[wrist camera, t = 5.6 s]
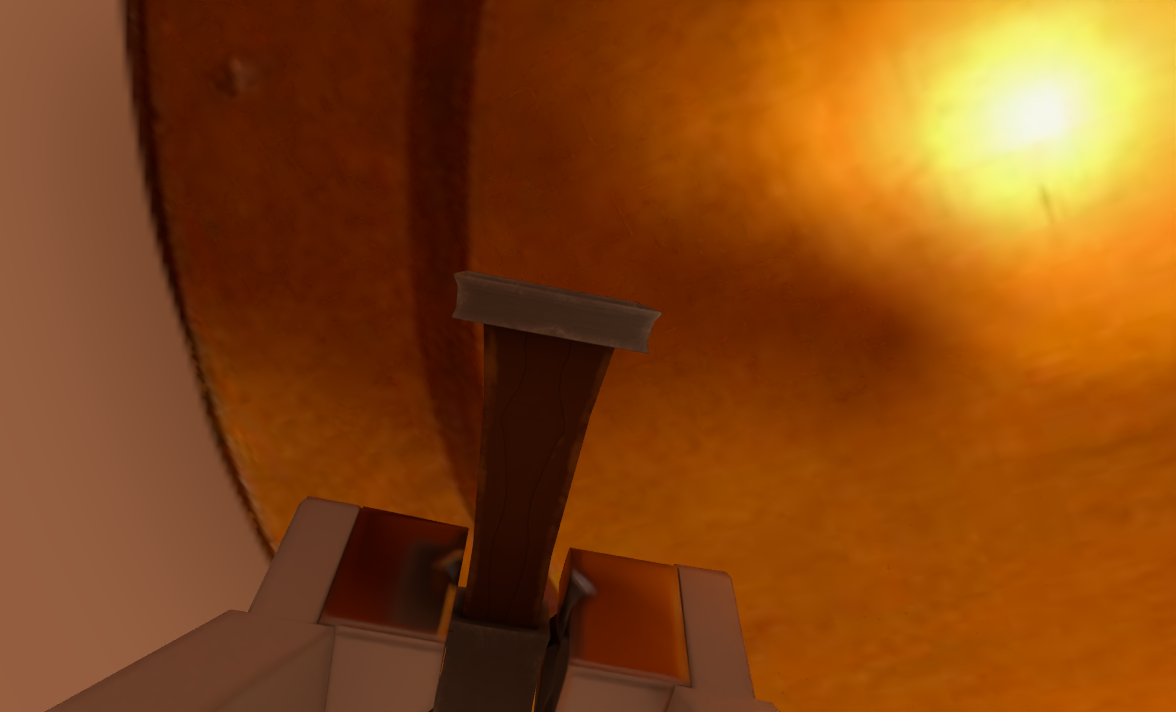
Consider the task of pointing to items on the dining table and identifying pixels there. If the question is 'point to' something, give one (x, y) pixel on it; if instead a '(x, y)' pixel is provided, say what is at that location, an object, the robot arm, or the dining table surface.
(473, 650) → the brown buckled strap
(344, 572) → the robot arm
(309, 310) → the dining table surface
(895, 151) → the dining table surface
